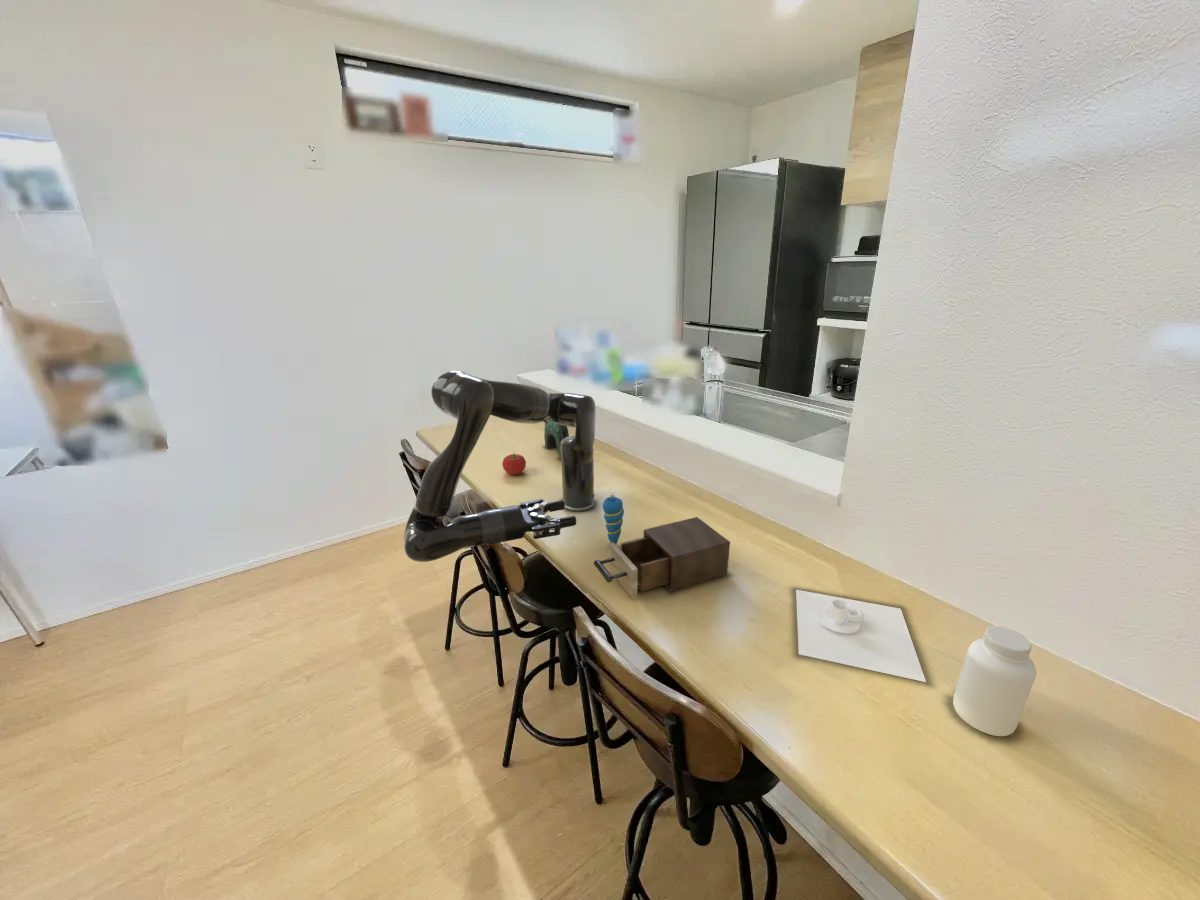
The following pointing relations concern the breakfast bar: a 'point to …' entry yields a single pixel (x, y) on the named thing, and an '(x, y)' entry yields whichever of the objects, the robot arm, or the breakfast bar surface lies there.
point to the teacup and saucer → (856, 634)
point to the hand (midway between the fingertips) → (569, 512)
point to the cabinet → (691, 551)
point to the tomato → (514, 464)
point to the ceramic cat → (554, 435)
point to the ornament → (613, 517)
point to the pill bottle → (995, 681)
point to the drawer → (636, 565)
